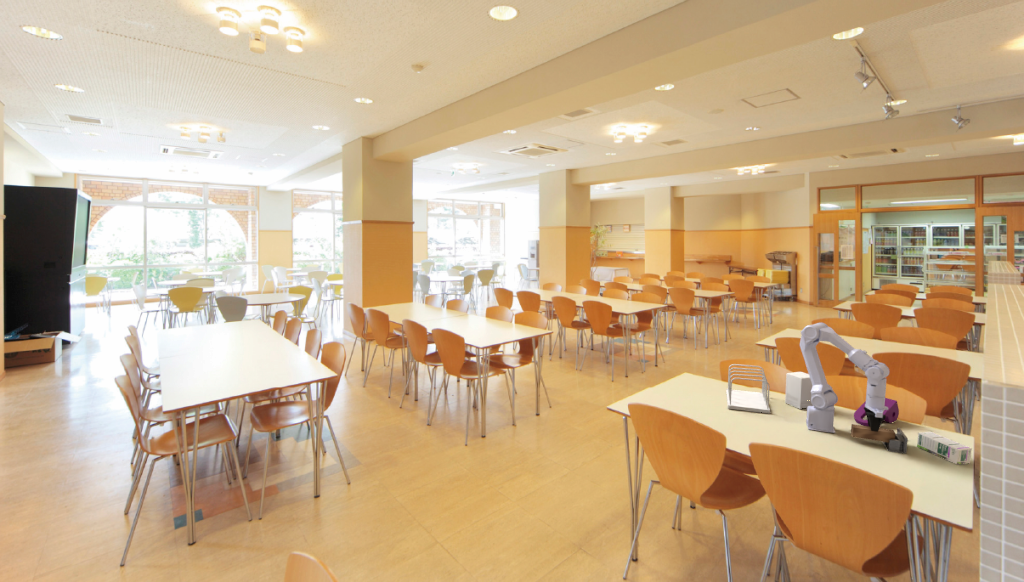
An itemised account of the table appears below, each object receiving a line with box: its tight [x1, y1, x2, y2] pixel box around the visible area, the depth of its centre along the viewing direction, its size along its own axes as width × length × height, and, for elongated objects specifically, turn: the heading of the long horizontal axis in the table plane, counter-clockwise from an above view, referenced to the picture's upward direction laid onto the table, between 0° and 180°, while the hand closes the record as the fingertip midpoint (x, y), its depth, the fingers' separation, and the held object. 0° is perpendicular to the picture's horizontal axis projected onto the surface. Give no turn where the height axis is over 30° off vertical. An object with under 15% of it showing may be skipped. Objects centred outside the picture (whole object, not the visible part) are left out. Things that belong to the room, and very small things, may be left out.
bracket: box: [882, 427, 909, 455], centre depth 177 cm, size 5×10×6 cm, turn 153°
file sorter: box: [725, 363, 771, 414], centre depth 225 cm, size 25×17×16 cm
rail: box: [850, 423, 896, 443], centre depth 180 cm, size 13×3×4 cm, turn 63°
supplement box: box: [784, 371, 813, 410], centre depth 220 cm, size 9×9×15 cm
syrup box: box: [916, 431, 973, 465], centre depth 170 cm, size 6×6×14 cm
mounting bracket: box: [853, 397, 900, 426], centre depth 201 cm, size 9×8×18 cm
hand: (873, 428), depth 180 cm, fingers closed on rail, 3 cm apart
